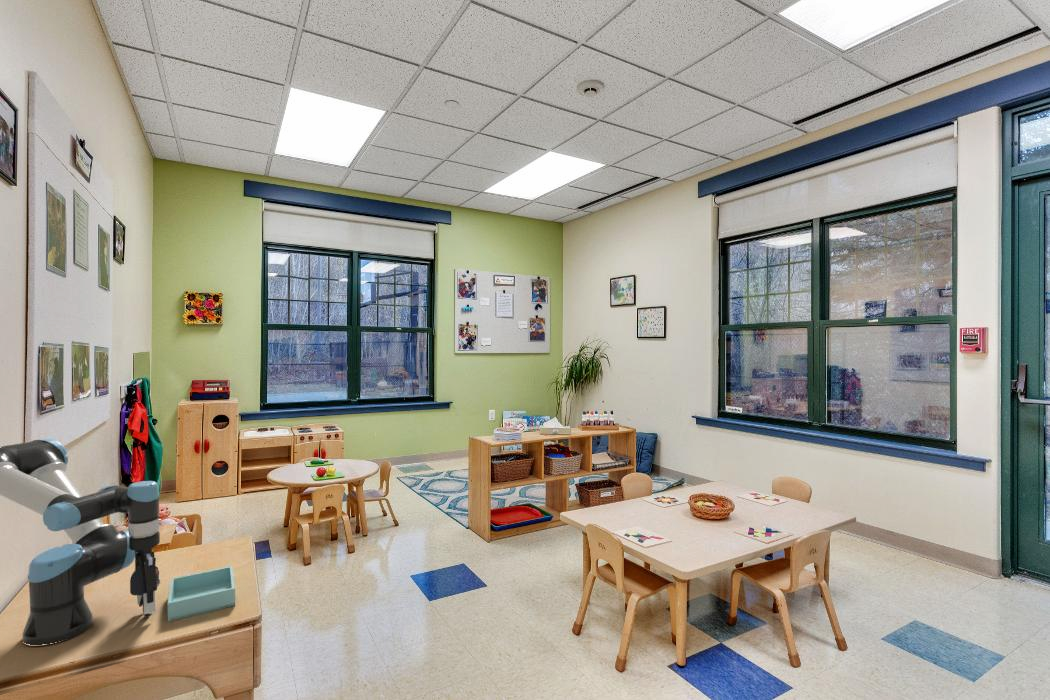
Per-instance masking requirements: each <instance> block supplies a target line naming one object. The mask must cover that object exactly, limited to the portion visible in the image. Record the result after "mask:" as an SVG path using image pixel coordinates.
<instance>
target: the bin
mask: <svg viewBox="0 0 1050 700" xmlns="http://www.w3.org/2000/svg"><path fill="white" fill-rule="evenodd" d="M233 568H234V567H233V565H231V566H224V567H219V568H215V569H211V570H206V571H200V572H197V573H191V574H185V575H181V576H177V577H172V578H171V579H170V584H169V592H168V597H167V598H168V599H167V622H172V621H177V620H180V619H181V620H182V619H184V618H190V617H193V616H197V615H201V614H205V613H209V612H213V611H218V610H222V609H227V608H231V607H234V606H236V586H235V578H234V577H235V575H234V569H233Z"/></svg>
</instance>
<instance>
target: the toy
mask: <svg viewBox="0 0 1050 700" xmlns="http://www.w3.org/2000/svg"><path fill="white" fill-rule="evenodd" d="M143 567H144V566H143ZM155 567H156V583H157V588H158V587H159V586H160V584H161V580H160V570H159V568H158V566H156V565H155ZM129 586H130V587H129V593H130V595H132V596H137V595H142V598H141V600H140V604H138V607H139V608H140V607H142V614H143V616H144V617H150V616H151V613H148V614H145V615H144V598H143V594H142V592H144V582H143V573H142V570H140V567H139V568H138V569H136V570H135V569H134V571H133V572H132V574H131V576H130V579H129Z"/></svg>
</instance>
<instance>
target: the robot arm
mask: <svg viewBox="0 0 1050 700" xmlns="http://www.w3.org/2000/svg"><path fill="white" fill-rule="evenodd" d="M0 447H1V446H0ZM67 454H68V451H67V449H66V447H65V446H64V445H63V444H62V443H61V442H59V441H57V440H56V439H53V438H52V439H50V438H46V439H45V438H44V439H34V440H31V441H26V442H21V443H14V444H9V445H8V444H7V445H3V446H2V447H1V448H0V496H2V497H3V498H5V499H8V500H10V501H12V502H14V503H16V504H18V505H20V506H23V507H25V508H27V509H29V510H31V511H33V512H35V513H37V514H40V515H41V516H42V522H43V524H44V526H46V528H47V530H49V531H51V532H59V531H60V532H61V531H64V532H65V533H66V535H67V536H68V538H69V539H70V541H71V542H72V543H68V544H63V545H61V546H55V547H52V548H49V549H47V550H45V551H43V552H41V553H40V554H37V555H36V556H35V557H34V558H33V559H32V560H31V562H30V563H29V566H28V575H27V580H28V589H29V590H28V591H29V615H28V617H27V621H26V623H25V626H24V629H23V631H22V643H23V642H24V643H26V644H30V645H42V644H50V643H55V642H59V641H62V640H65V641H67V640H66V639H68V640H70V639H73V638H75V637H76V636H77V637H78V636H79V635H80V634H83V633H84V632H85V631H87V630H88V629H90V627H91V626H92V625H93V623H94V621H93V617H94V616H93V613H92V611H91V609H90V607H89V605H88V603H87V601H86V599H85V587H86V586H87V585H90V584H93V583H94V582H96V581H99V580H102V579H104V578H106V577H108V576H111V575H113V574H115V573H116V574H117V573H119V572H121V571H122V570H124V569H126V568H128V567H129V566H131V565H132V564H133V562H134V571H135V570H136V569H138V568H139V567H140V570H142V573H143V582H144V592H142V594H143V598H144V613H143V616H144V615H145V614H152V613H153V612H156V591H157V590H158V587H157V583H156V567H157V566H156V562H157V561H156V560H157V558H156V556H155V552H154V551H153V548H154V547H157V546H158V545H159V544H160V543H161V539H160V538H161V537H160V534H161V533H160V531H159V530H160V523H161V522H162V519H161V518H160V491H159V484H158V482H156V481H154V480H142V481H137V482H133V483H130V484H129V485H128V486H122V485H117V484H116V485H106V486H103V487H102V488H100V489H99V490H98V491H97V492H94V493H90V494H87V495H83V494H82V493H81V492H80V491H79V489H77V487H76V486H75V484H74V483H73V482H72V480H71V479H70V478H69V477H68V475H67V474H66V473H65V472H66V471H67V468H68V467H67V465H68V462H69V456H68V455H67ZM116 513H118V514H119V513H121V514H122V513H123V514H128V515H127V516H128V530H126V529H124V530H123V529H122V530H119V531H118V529H116V527H115V526H114V525H113V524H110V523H108V524H107V523H104V522H103V520H102V519H101V518H104V517H107V516H111V515H114V514H116ZM143 566H144V567H143ZM155 566H156V567H155ZM136 597H137V598H136V601H137V605H139V604H140V600H141V598H142V595H136ZM72 637H73V638H72ZM69 638H70V639H69ZM62 642H63V641H62ZM59 643H60V642H59ZM55 644H56V643H55Z"/></svg>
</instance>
